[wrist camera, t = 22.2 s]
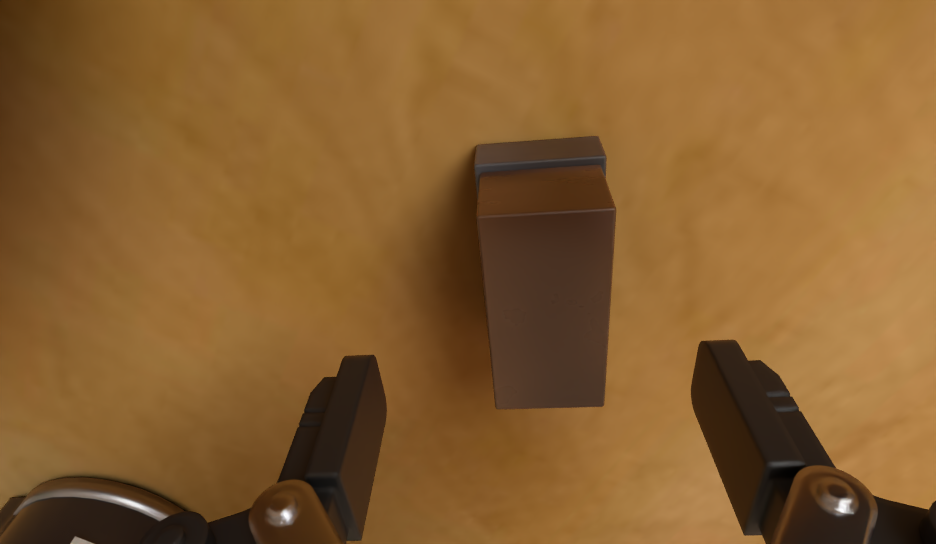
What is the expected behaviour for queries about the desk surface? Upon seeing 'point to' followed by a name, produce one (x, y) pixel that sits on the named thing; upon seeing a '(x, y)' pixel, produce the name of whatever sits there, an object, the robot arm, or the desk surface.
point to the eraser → (546, 269)
